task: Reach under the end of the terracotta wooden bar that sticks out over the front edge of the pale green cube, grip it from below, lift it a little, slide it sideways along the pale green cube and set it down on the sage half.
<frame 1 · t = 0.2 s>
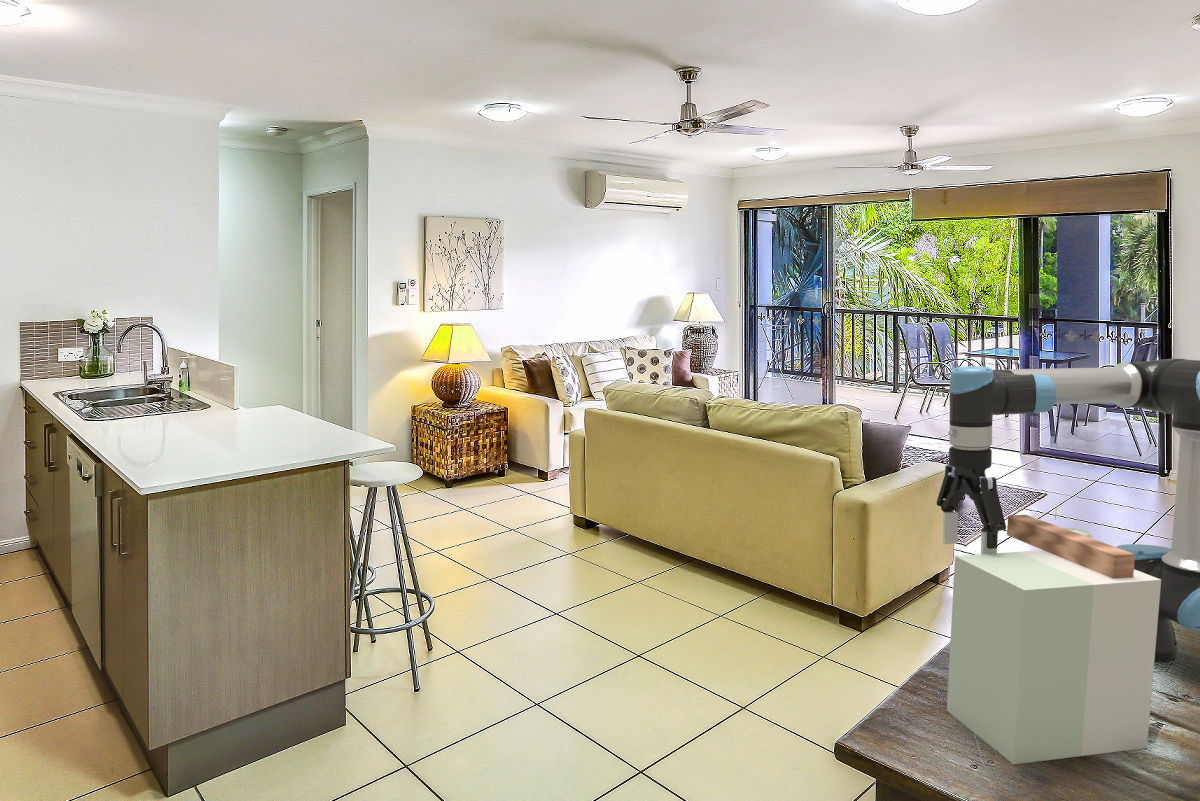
hand: (968, 553, 156), 27 cm above the table, tool pointing down, fingers open, 13 cm apart
bar: (1064, 554, 147), point 30 cm above the table, touching pale green cube
candy box: (1101, 697, 155), on the table
pale green cube: (1042, 728, 143), on the table
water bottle: (1067, 606, 202), on the table
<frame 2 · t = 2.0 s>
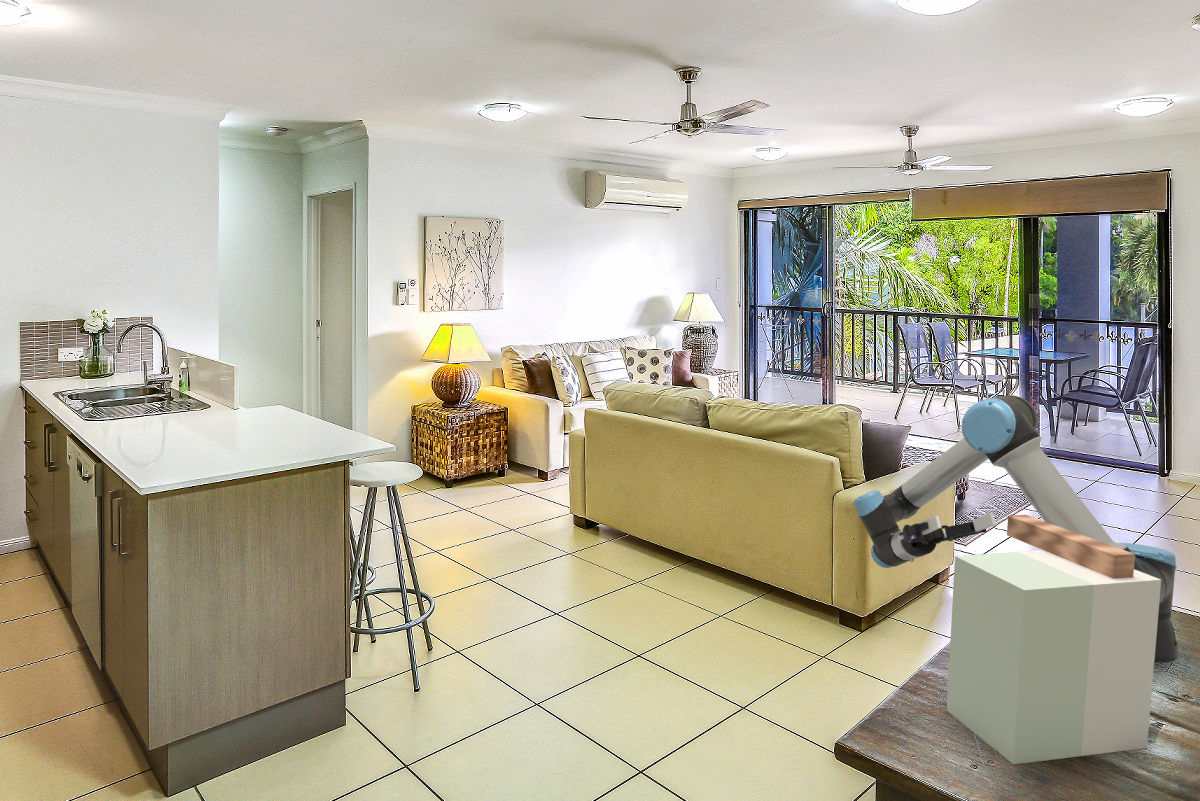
hand: (966, 520, 175), 29 cm above the table, tool pointing upward, fingers open, 13 cm apart
nothing on the table moved.
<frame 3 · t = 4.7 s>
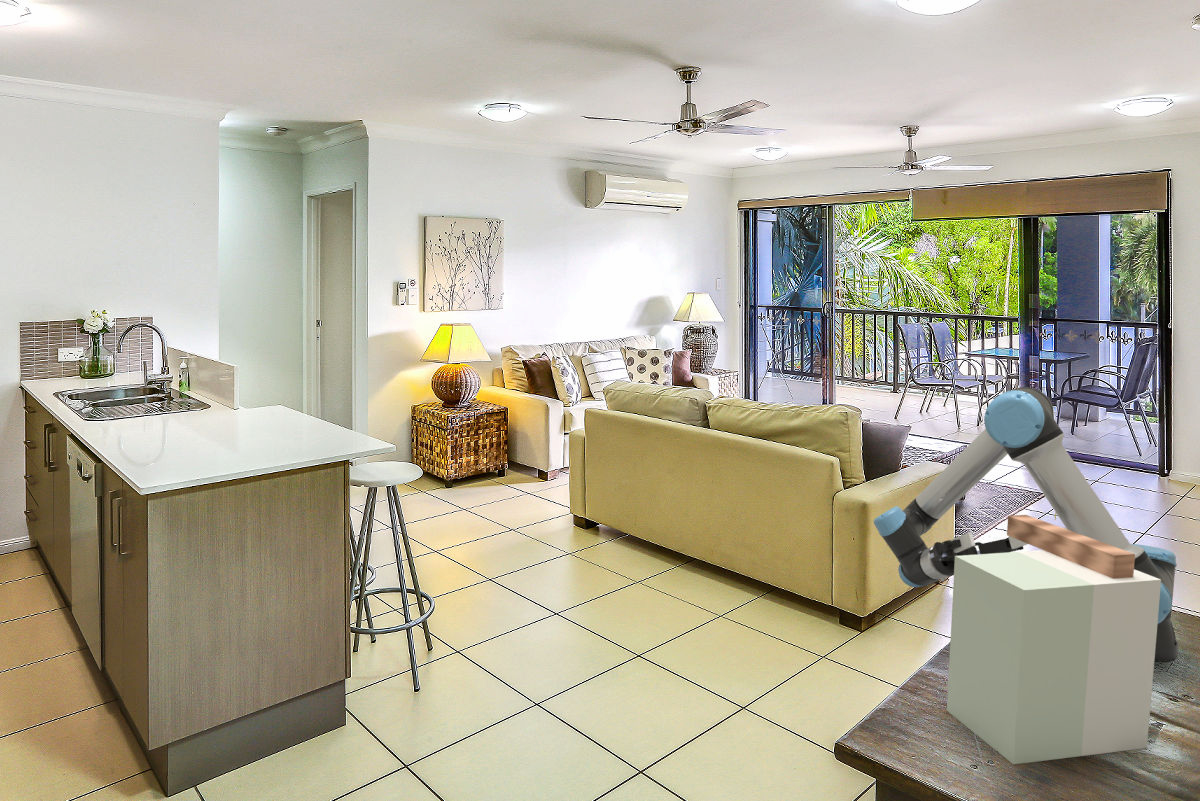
hand: (1001, 536, 163), 29 cm above the table, tool pointing upward, fingers open, 13 cm apart
nothing on the table moved.
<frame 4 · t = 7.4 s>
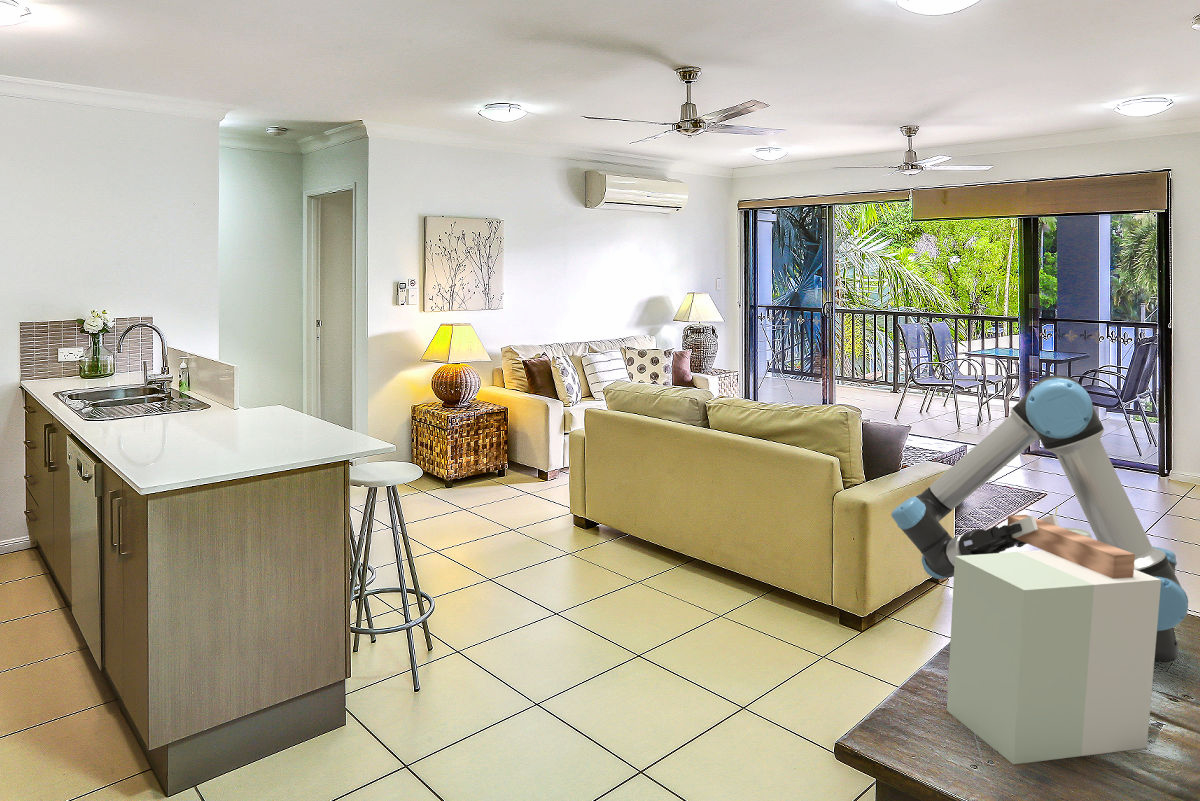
hand: (1045, 522, 151), 35 cm above the table, tool pointing upward, fingers closed on bar, 4 cm apart
bar: (1064, 554, 147), point 30 cm above the table, touching gripper, pale green cube
everything else where it was.
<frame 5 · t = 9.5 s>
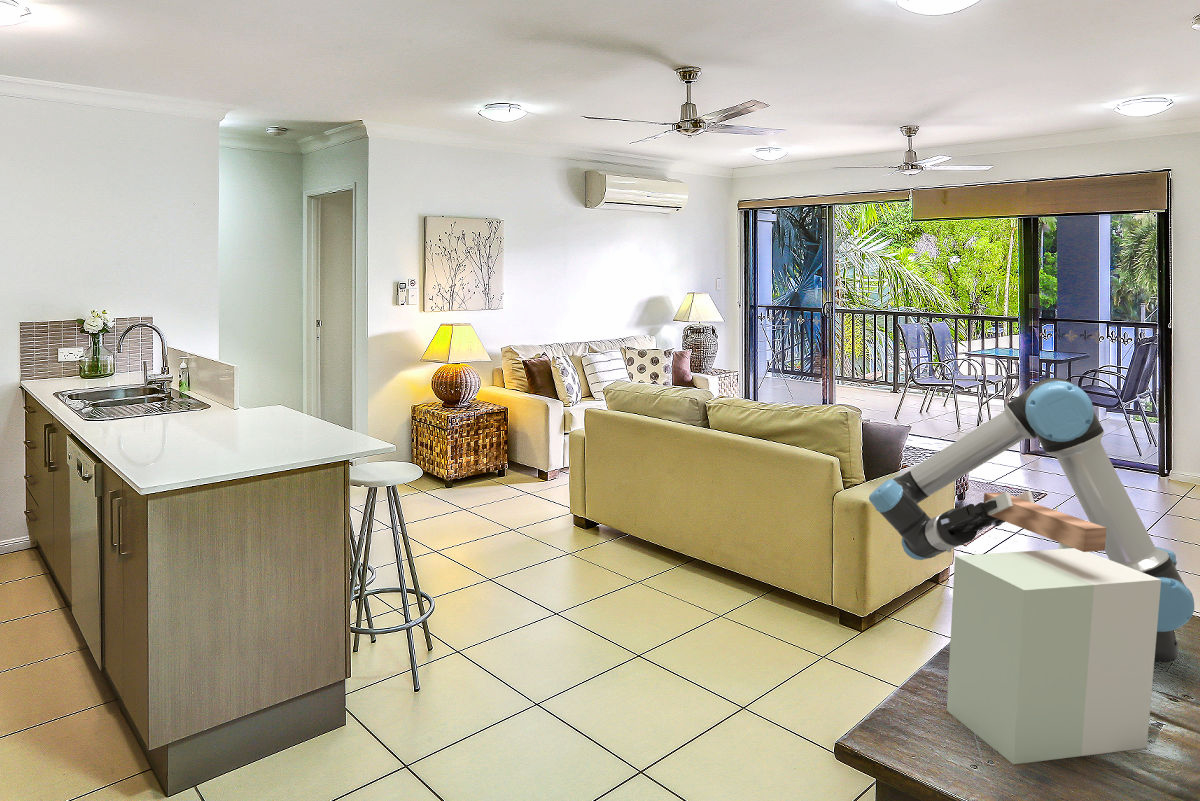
hand: (1020, 498, 151), 39 cm above the table, tool pointing upward, fingers closed on bar, 4 cm apart
bar: (1038, 530, 146), point 35 cm above the table, touching gripper
everything else where it was.
when the fingers open (36 cm above the table, at t = 11.8 s): bar stays where it is, resting on pale green cube.
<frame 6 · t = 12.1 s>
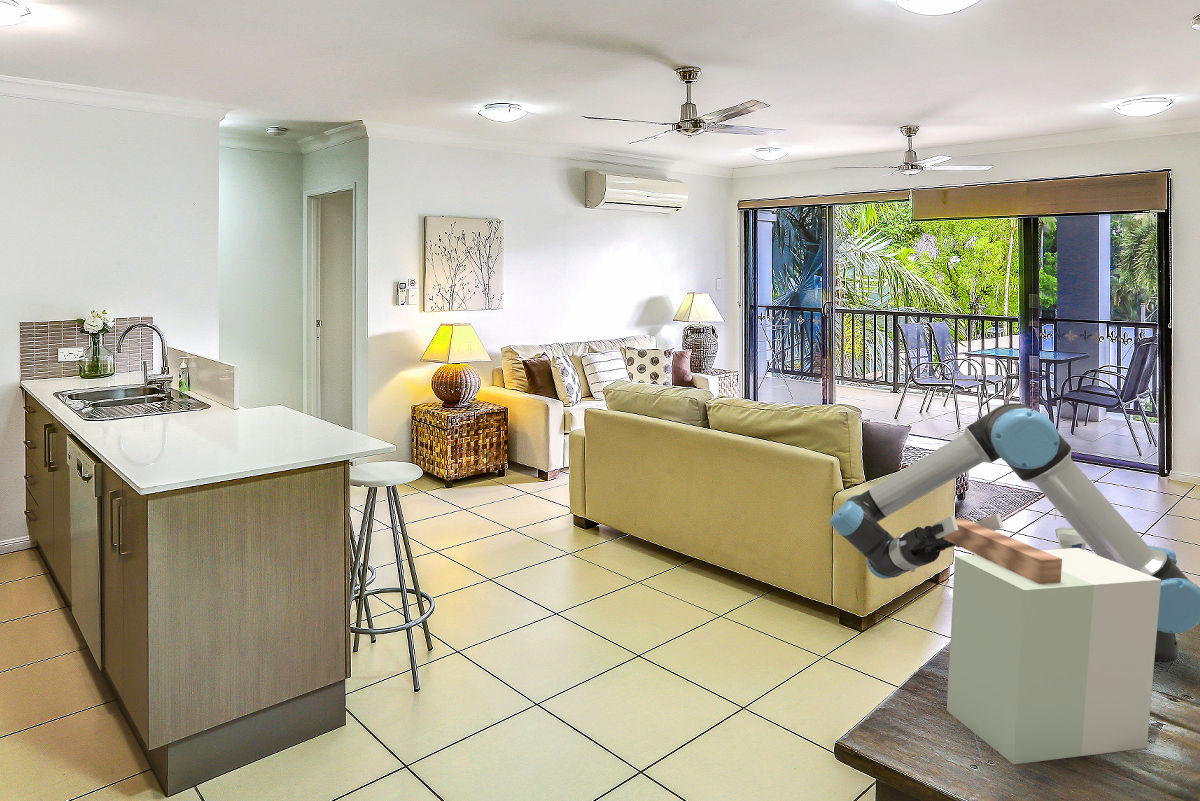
hand: (977, 521, 149), 35 cm above the table, tool pointing upward, fingers open, 9 cm apart
bar: (997, 558, 144), point 30 cm above the table, touching pale green cube
everything else where it was.
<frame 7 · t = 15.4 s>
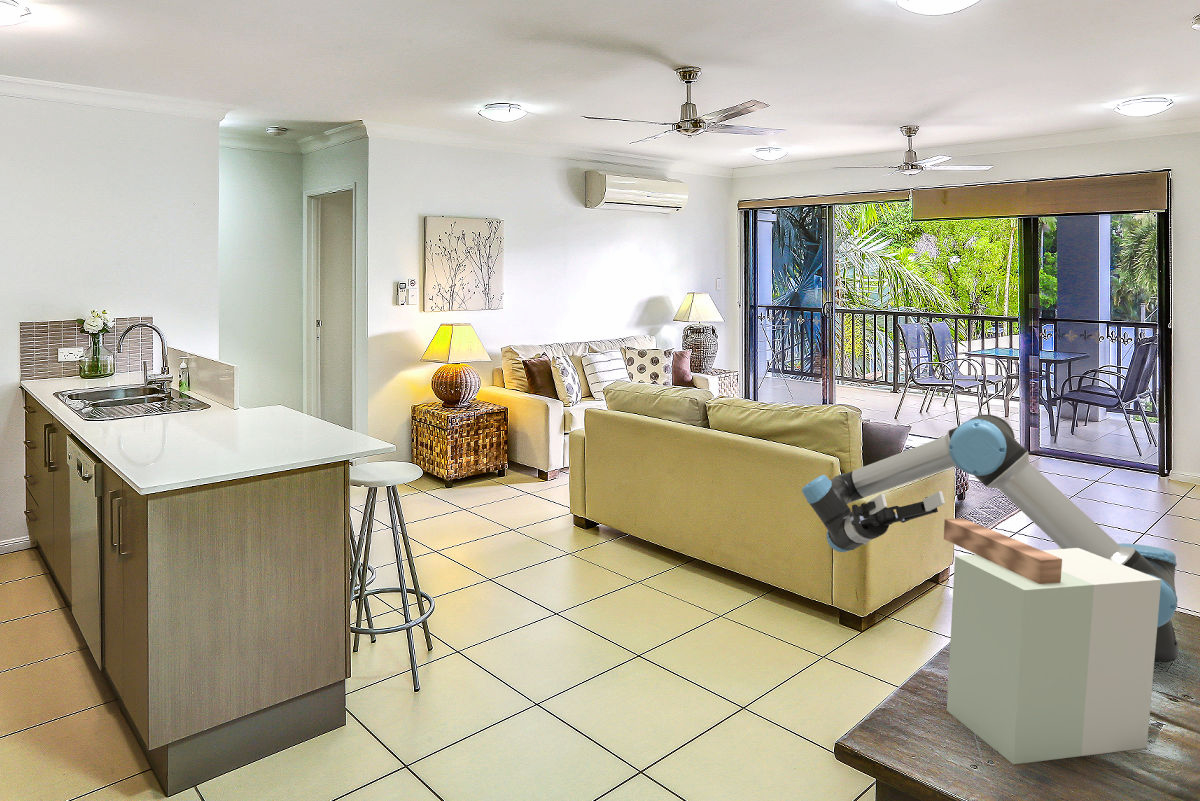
hand: (913, 498, 170), 35 cm above the table, tool pointing upward, fingers open, 13 cm apart
nothing on the table moved.
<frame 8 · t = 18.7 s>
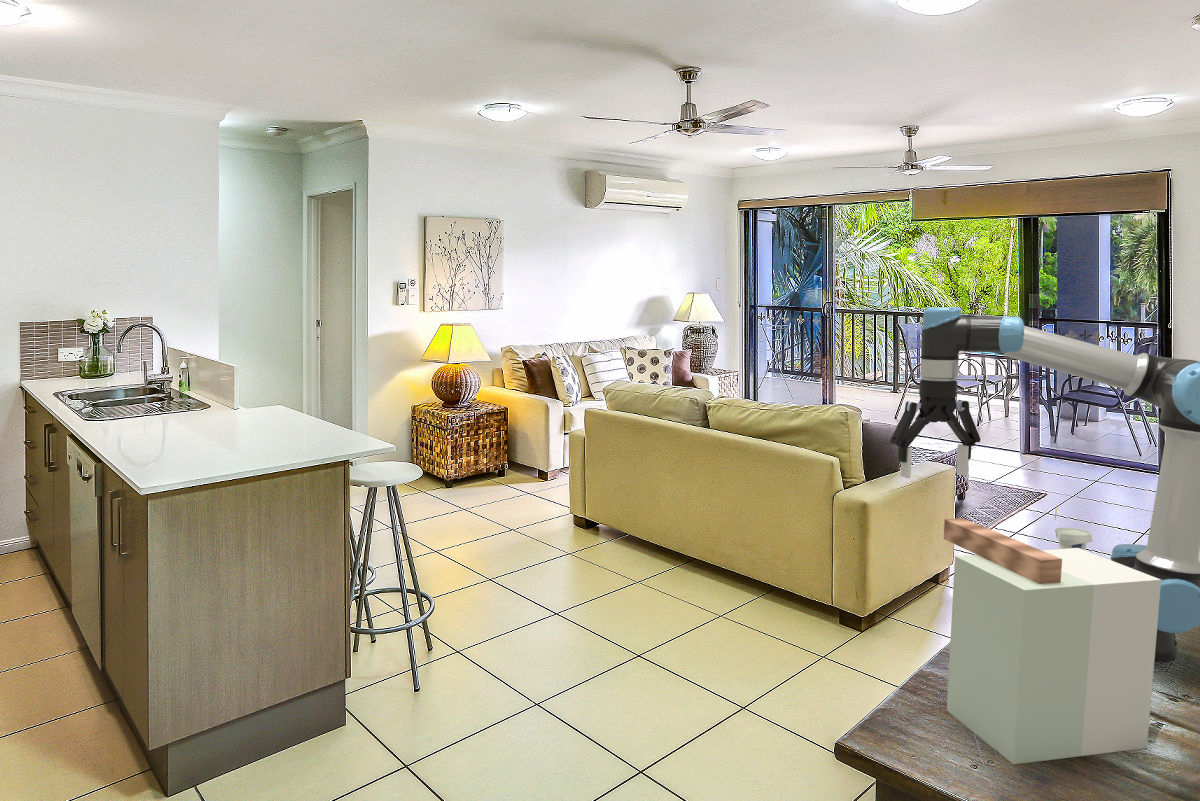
hand: (933, 475, 174), 39 cm above the table, tool pointing down, fingers open, 13 cm apart
nothing on the table moved.
at the end: bar inside the target area (0.0 cm from its centre), point 30.0 cm above the table; bar tilted 0°; bar touching pale green cube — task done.
